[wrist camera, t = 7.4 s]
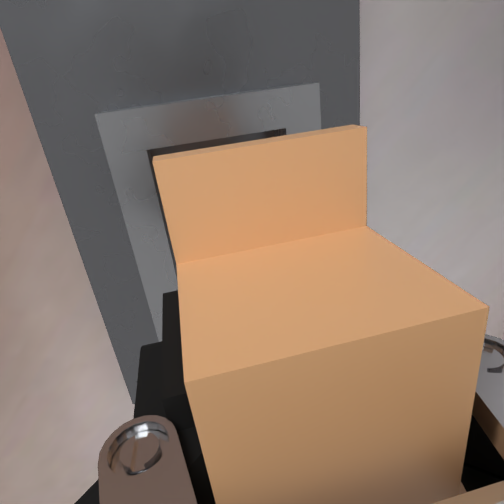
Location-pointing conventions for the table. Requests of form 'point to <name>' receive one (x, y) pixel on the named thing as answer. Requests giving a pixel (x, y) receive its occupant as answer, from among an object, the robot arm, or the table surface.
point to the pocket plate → (166, 116)
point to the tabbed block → (314, 329)
